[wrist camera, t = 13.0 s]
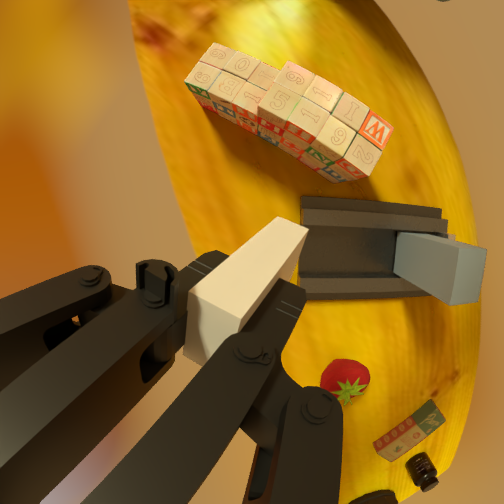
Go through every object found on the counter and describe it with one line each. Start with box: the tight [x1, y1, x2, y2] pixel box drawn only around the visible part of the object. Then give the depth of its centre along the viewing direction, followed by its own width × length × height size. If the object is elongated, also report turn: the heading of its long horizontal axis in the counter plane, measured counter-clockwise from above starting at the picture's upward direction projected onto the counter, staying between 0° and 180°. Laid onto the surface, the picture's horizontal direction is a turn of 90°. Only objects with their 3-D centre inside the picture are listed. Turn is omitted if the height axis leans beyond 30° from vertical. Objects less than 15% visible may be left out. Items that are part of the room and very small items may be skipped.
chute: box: [297, 196, 455, 300], centre depth 34 cm, size 14×23×5 cm, turn 89°
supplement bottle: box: [406, 452, 439, 492], centre depth 40 cm, size 7×7×12 cm
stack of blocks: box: [184, 43, 394, 184], centre depth 27 cm, size 21×6×12 cm, turn 59°
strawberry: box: [320, 359, 370, 406], centre depth 35 cm, size 6×8×10 cm
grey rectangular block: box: [393, 231, 487, 306], centre depth 28 cm, size 6×5×14 cm
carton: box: [373, 399, 446, 462], centre depth 41 cm, size 8×16×4 cm, turn 133°
